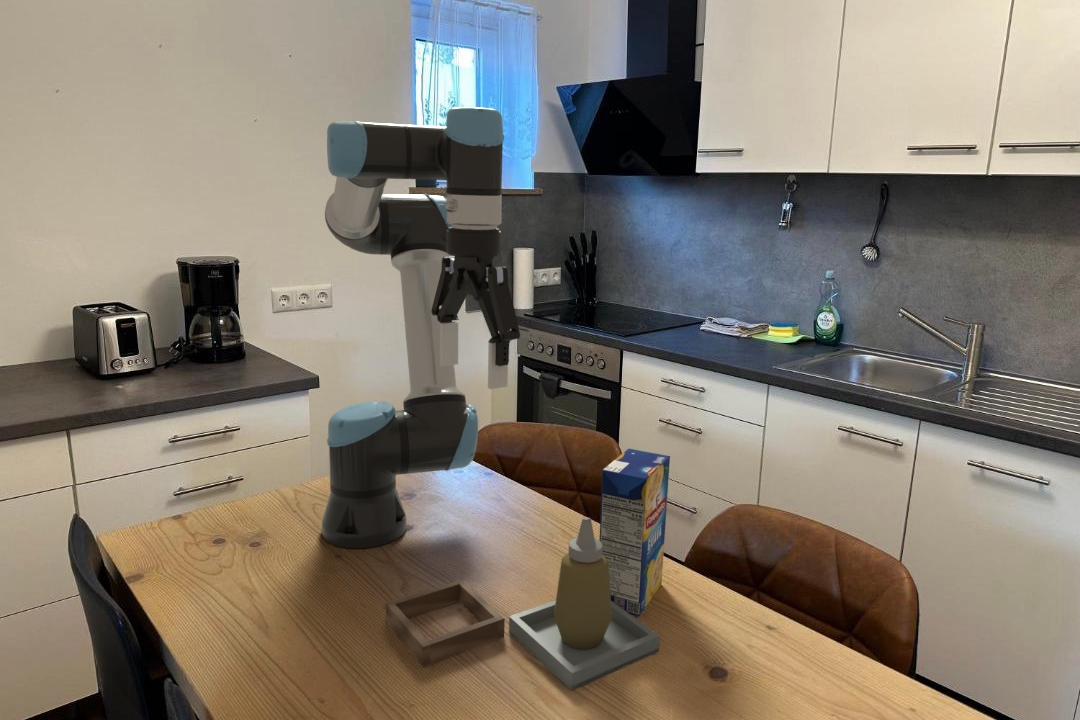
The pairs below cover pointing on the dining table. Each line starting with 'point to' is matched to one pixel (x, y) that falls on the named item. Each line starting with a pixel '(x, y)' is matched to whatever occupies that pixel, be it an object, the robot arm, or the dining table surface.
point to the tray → (583, 666)
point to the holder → (451, 642)
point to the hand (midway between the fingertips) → (472, 375)
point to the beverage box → (634, 526)
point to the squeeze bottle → (583, 591)
